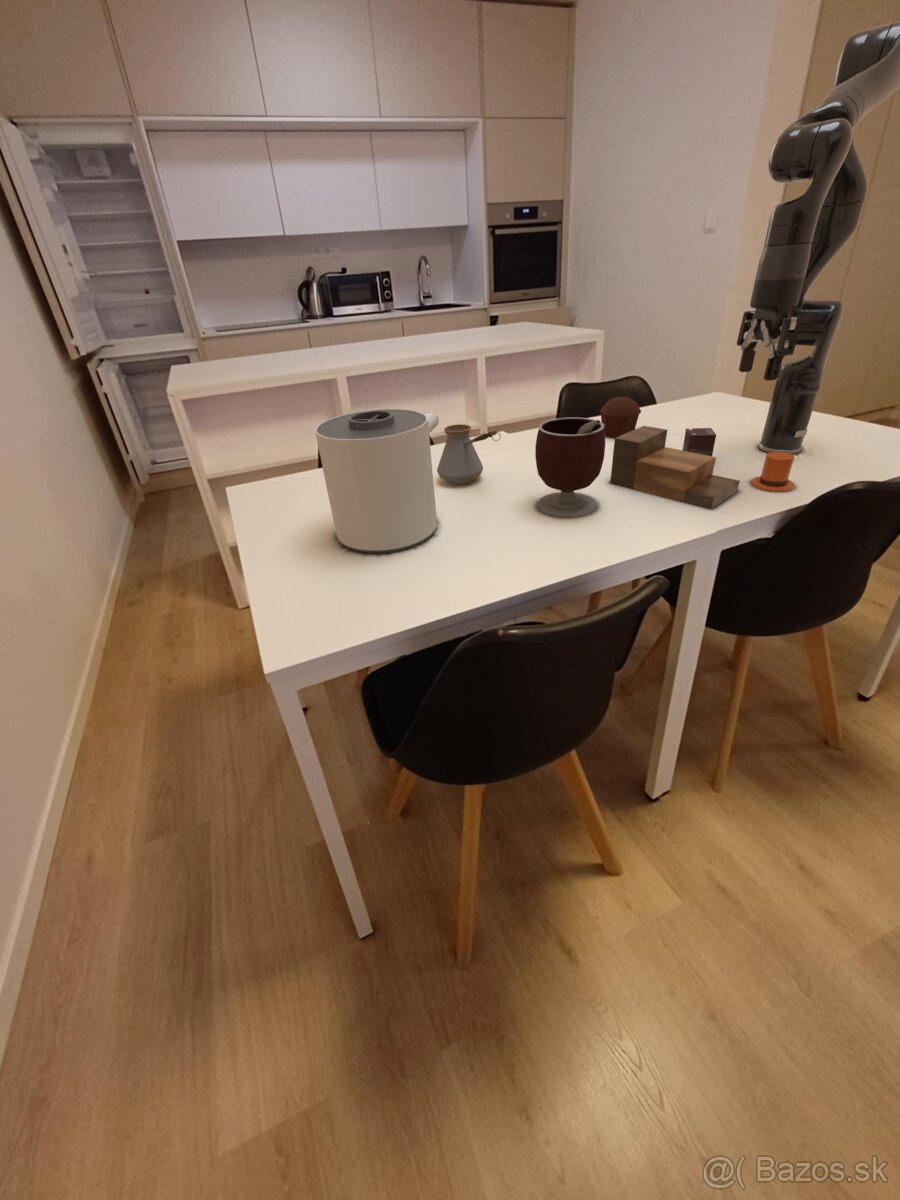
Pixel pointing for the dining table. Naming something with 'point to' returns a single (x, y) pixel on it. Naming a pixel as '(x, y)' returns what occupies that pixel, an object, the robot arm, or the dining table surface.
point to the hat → (775, 473)
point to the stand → (667, 469)
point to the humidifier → (379, 478)
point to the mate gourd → (569, 463)
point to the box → (699, 441)
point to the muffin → (619, 416)
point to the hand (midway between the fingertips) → (756, 375)
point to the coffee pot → (461, 456)
